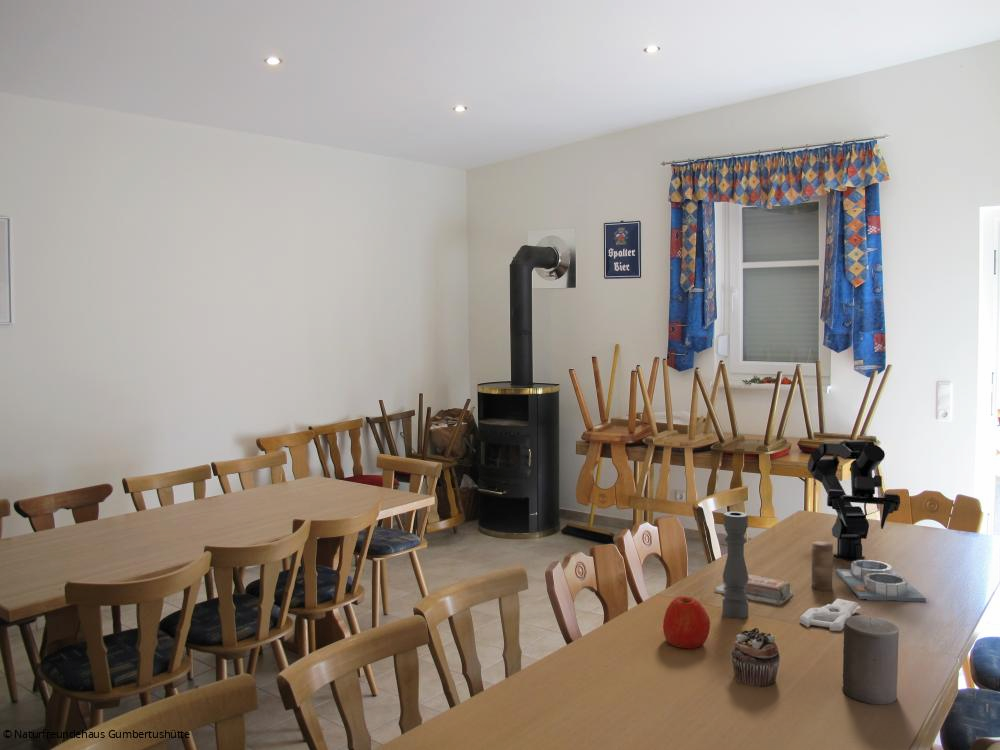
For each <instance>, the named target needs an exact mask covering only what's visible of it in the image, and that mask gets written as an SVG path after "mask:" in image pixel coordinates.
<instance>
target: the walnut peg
mask: <svg viewBox="0 0 1000 750" xmlns="http://www.w3.org/2000/svg"><path fill="white" fill-rule="evenodd" d="M833 547H834V545H833V543H831V542H827V541H813V542H811V588H812V589H813V590H817V591H819V590H822V591H821V592H827V591H826V590H830V591H832V590H833V561H834V560H833V559H834V553H833V551H834V548H833Z"/></svg>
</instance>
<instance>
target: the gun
mask: <svg viewBox="0 0 1000 750" xmlns="http://www.w3.org/2000/svg"><path fill="white" fill-rule="evenodd" d="M860 609H862V607H861V605H859V603H858V602H856V601H852V600H848V599H847V600H846V599H843V598H836V599H835V600H834V601H833V602H832V603H831V604H830V603H828V604H826V605H823V606H821V607H810V608H808V609H807V610H806V611H805V612H804V613H803V614H802V615H801V616H800V617H799V623H801V624H802V625H804V626H805V627H807V628H810V626H816V627H822V628H828V629H829V631H830V632H841V631H842V630H844V621H845V619H846V618H848V617H851V616H853V615H854V614H855V613H857V611H860Z"/></svg>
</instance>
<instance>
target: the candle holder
mask: <svg viewBox="0 0 1000 750" xmlns="http://www.w3.org/2000/svg"><path fill="white" fill-rule="evenodd" d="M748 519H749V515H748V513H746V512H743V511H726V512H724V513H723V528H724V531H725V532H726V536H725V537H724V541H725V543H726V544H727V557H726V560H725V565H724V569H723V573H722V581H723V580H724V582H725V584H726V587H727V590H726V592H724V594H723V599H722V615H723V616H725V617H727V618H729V619H736V620H740V619H742V620H743V619H746V618H748V617H749V600H748V599H747V594H746V593H745V591H744V589H745V587H744V586H745V585H746V584H747V582H748V574H749V572H748V568H747V564H746V561H745V557H744V556H745V554H744V552H745V549H744V548H745V544H746V543H747V538H746V537H745V535H746V534H745V533H746V532H747V529H748V528H749V527H748V525H749V523H748V521H749V520H748Z"/></svg>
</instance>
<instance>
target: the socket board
mask: <svg viewBox="0 0 1000 750" xmlns="http://www.w3.org/2000/svg"><path fill="white" fill-rule="evenodd" d="M835 573H836V575H839V576H840V577H841V578H842V579H841V578H840V577H839V576H838V577H839V578H840V579H841V580H842V582H844V584H845V583H846V584H847V585H848V586H849V587H850V588H851V589H850V588H849V587H848V586H847V585H846V584H845V585H846V586H847V587H848V588H849V589H850V591H851V592H852V591H853V592H854V593H855V594H856V595H857V596H858V597H857V596H856V595H855V594H854V593H853V592H852V593H853V594H854V595H855V596H856V597H857V598H858V600H859V599H867V600H866V601H887V600H897V601H896V602H918V601H921V602H925V603H926V601H927V600H926V596H924V595H923V594H922V593H921V591H919V590H918V589H916V588H915V587H914V586H913V585H912V584H911V583H910V582H909V581H908V580H907V579H906V578H905V577H903V576H902V575H901V574H899V573H898V571H896V570H893V566H891V565H890V564H889V563H886V562H884V561H883V562H882V561H879V560H873V559H872V560H871V559H858V560H853V561H851V563H850V569H848V568H847V569H846V568H845V569H844V568H840V569H839V568H835ZM921 602H920V603H921Z"/></svg>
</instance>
